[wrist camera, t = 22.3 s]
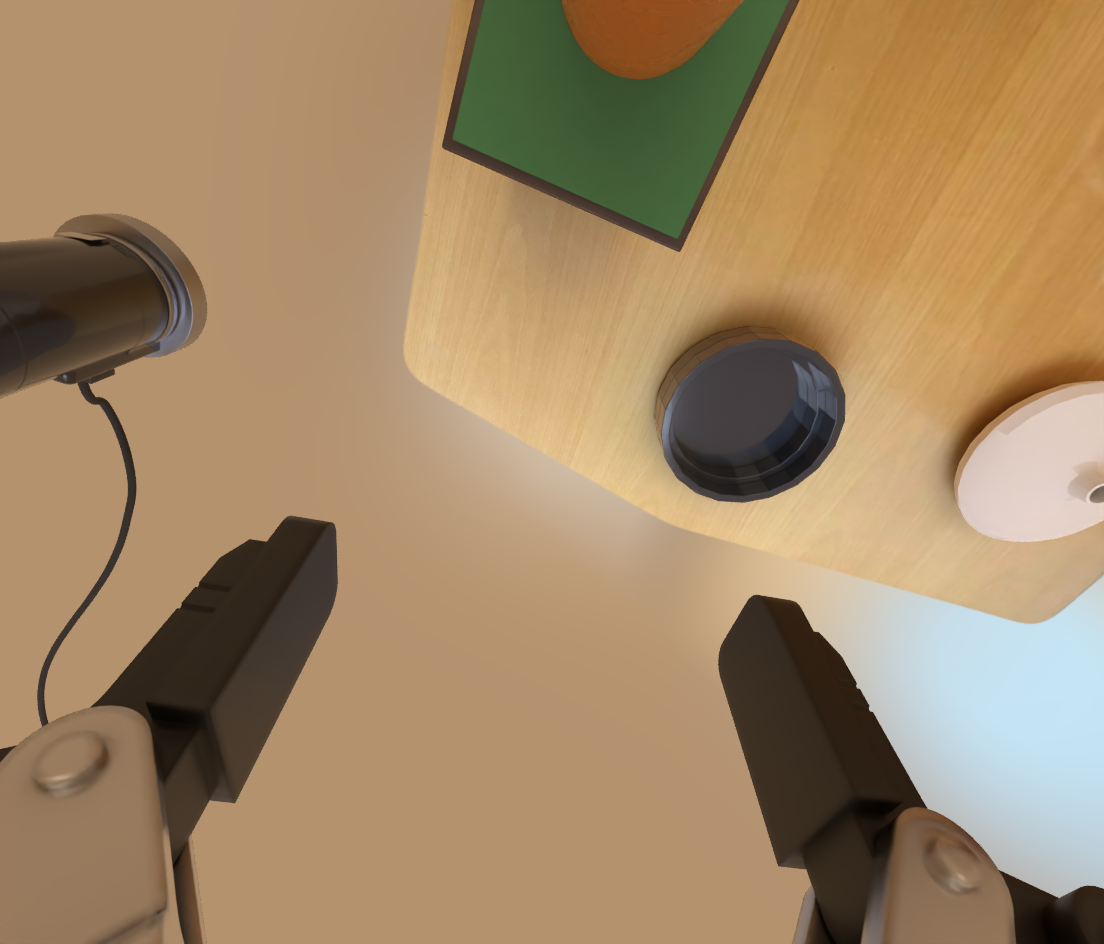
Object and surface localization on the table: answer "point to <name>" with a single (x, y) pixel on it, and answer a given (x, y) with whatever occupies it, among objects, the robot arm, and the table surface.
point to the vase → (1037, 467)
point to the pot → (748, 414)
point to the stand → (576, 199)
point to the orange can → (644, 32)
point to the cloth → (607, 108)
